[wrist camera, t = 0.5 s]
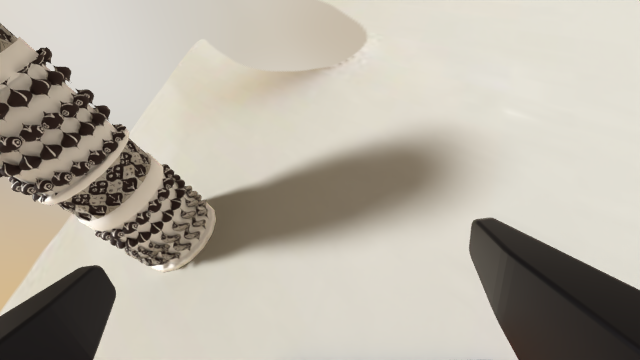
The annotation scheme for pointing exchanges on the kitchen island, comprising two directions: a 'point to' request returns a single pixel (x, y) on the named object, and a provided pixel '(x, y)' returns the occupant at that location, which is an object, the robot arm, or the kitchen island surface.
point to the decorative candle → (92, 164)
